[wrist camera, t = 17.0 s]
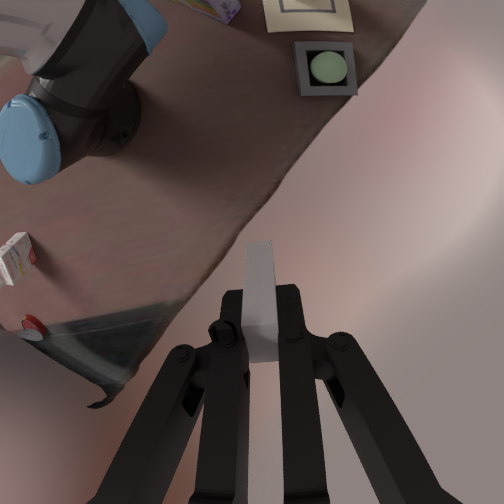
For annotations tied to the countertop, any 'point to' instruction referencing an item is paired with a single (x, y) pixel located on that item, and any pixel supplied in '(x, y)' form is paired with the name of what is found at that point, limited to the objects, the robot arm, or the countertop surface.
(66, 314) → the countertop surface
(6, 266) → the ink cartridge box
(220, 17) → the cake pan box
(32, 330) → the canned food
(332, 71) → the button
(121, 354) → the countertop surface
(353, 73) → the button box
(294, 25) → the cream square mat
